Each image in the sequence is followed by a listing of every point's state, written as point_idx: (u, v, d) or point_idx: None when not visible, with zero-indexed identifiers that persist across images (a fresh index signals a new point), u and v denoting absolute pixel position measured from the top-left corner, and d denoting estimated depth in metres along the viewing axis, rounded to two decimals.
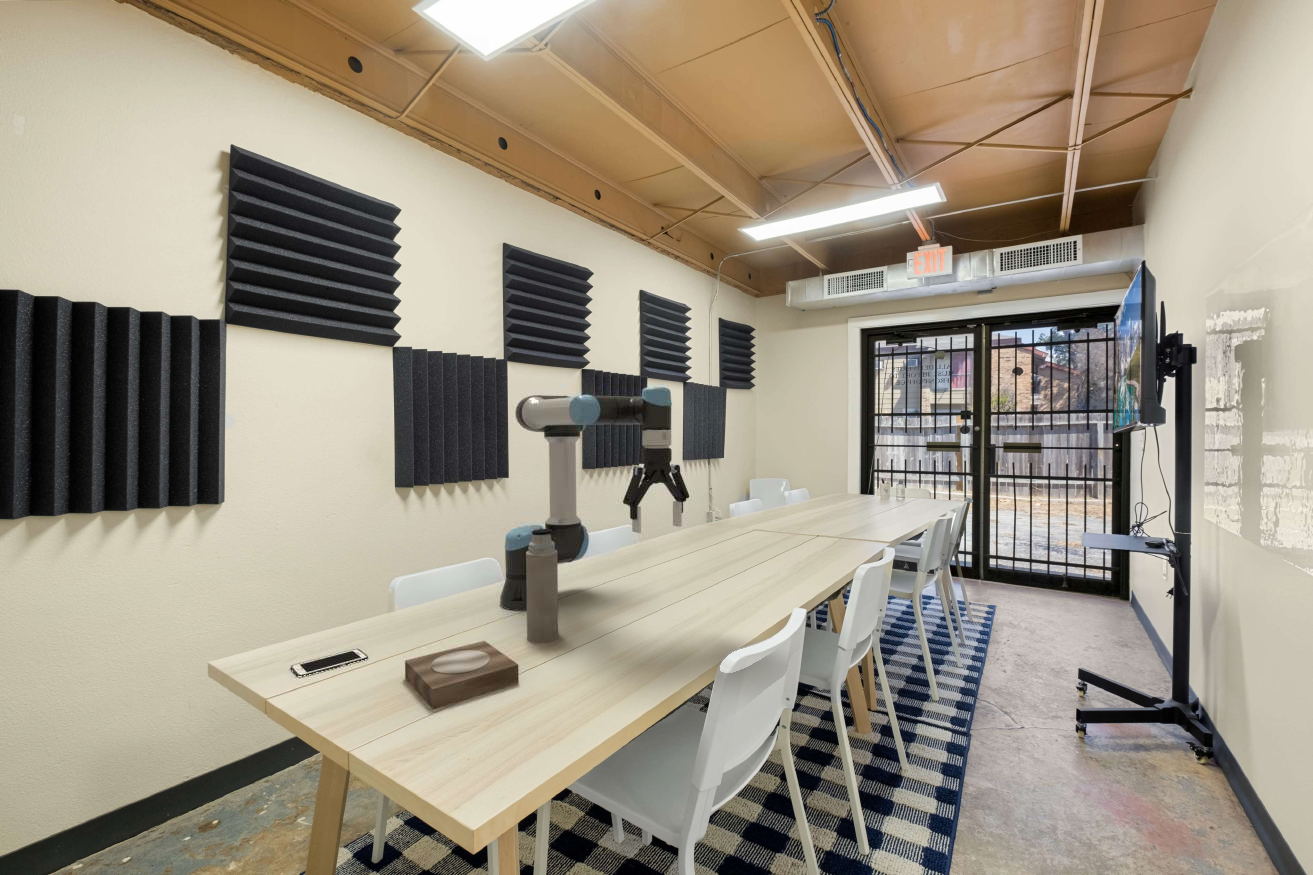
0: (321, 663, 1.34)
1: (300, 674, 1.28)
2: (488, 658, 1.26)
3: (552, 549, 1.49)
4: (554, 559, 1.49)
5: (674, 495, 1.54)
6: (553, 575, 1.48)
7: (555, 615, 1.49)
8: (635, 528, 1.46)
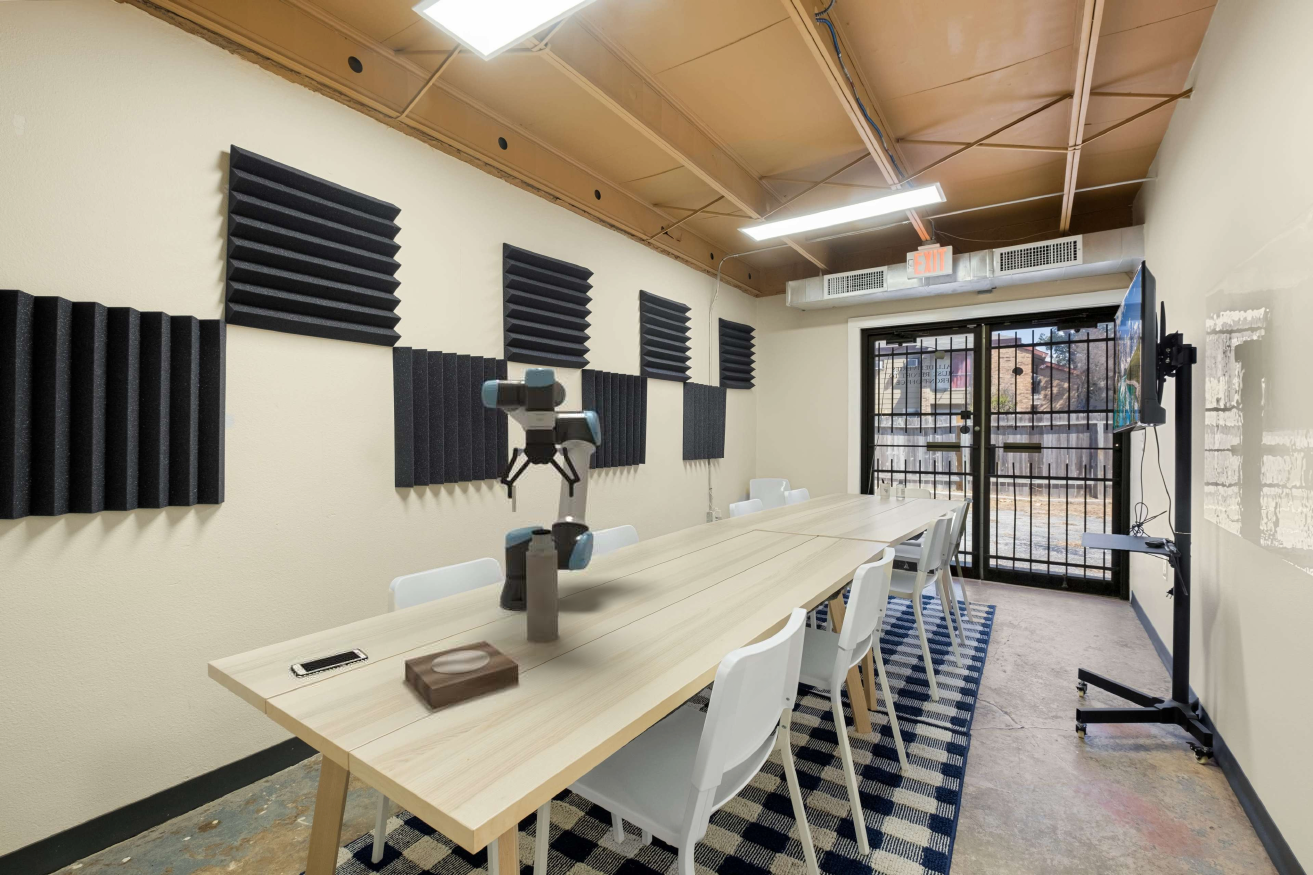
0: (321, 663, 1.34)
1: (300, 674, 1.28)
2: (488, 658, 1.26)
3: (552, 549, 1.49)
4: (554, 559, 1.49)
5: None
6: (553, 575, 1.48)
7: (555, 615, 1.49)
8: None
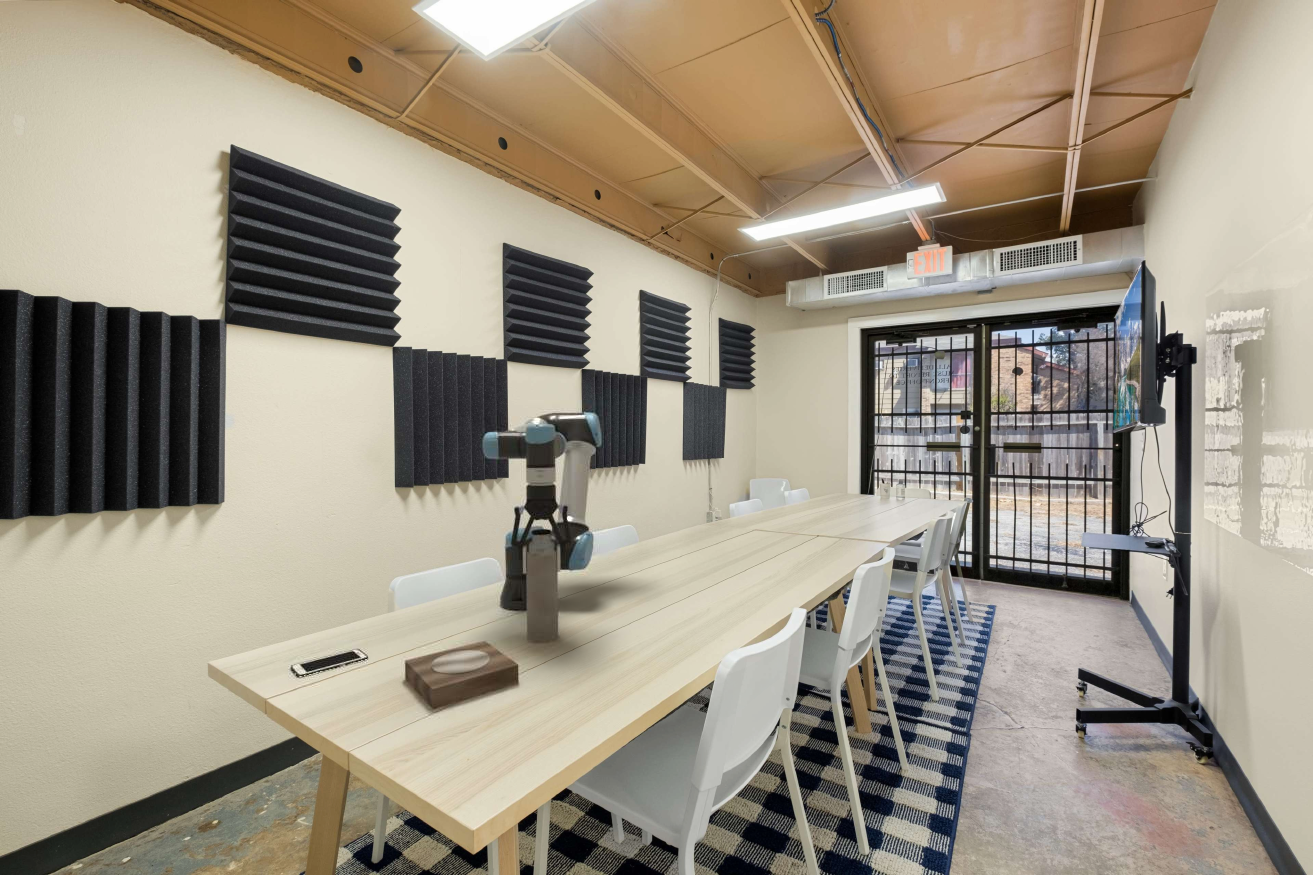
0: (321, 663, 1.34)
1: (300, 674, 1.28)
2: (488, 658, 1.26)
3: (552, 549, 1.49)
4: (554, 559, 1.49)
5: None
6: (553, 575, 1.48)
7: (555, 615, 1.49)
8: None
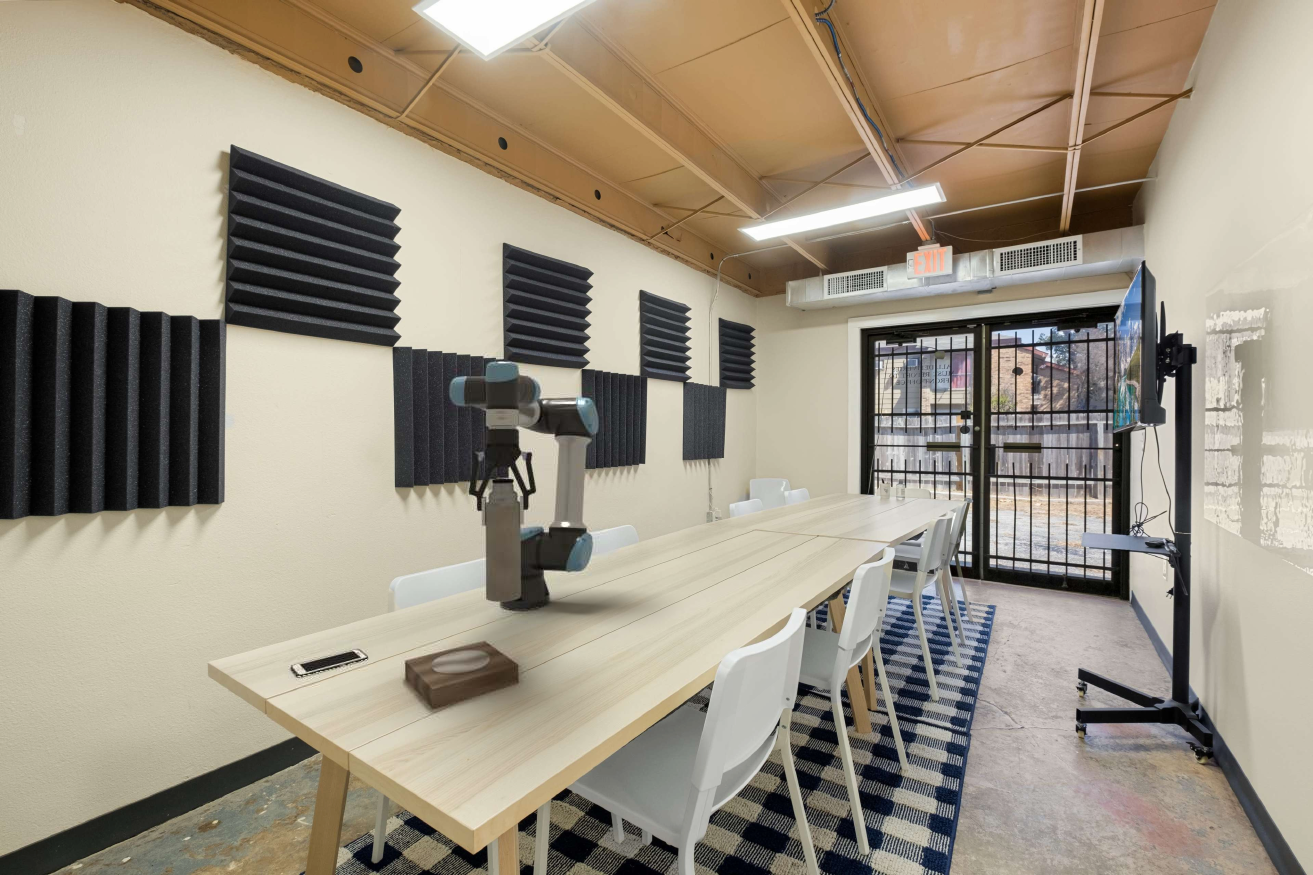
0: (321, 663, 1.34)
1: (300, 674, 1.28)
2: (488, 658, 1.26)
3: (514, 499, 1.36)
4: (516, 510, 1.35)
5: None
6: (515, 527, 1.35)
7: (517, 572, 1.35)
8: None
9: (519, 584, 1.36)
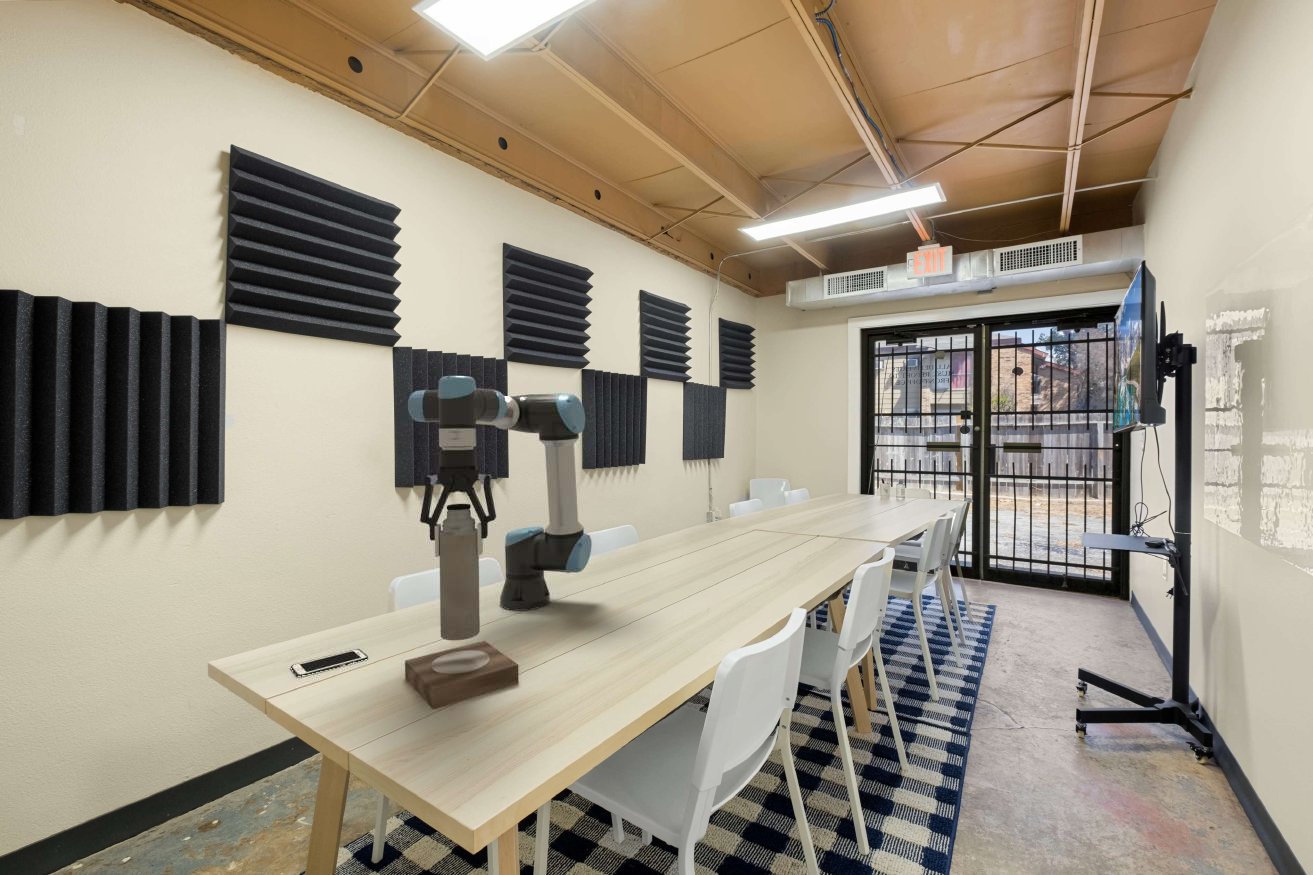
0: (321, 663, 1.34)
1: (300, 674, 1.28)
2: (488, 658, 1.26)
3: (471, 527, 1.23)
4: (473, 539, 1.23)
5: None
6: (471, 558, 1.22)
7: (474, 607, 1.23)
8: None
9: (477, 620, 1.24)
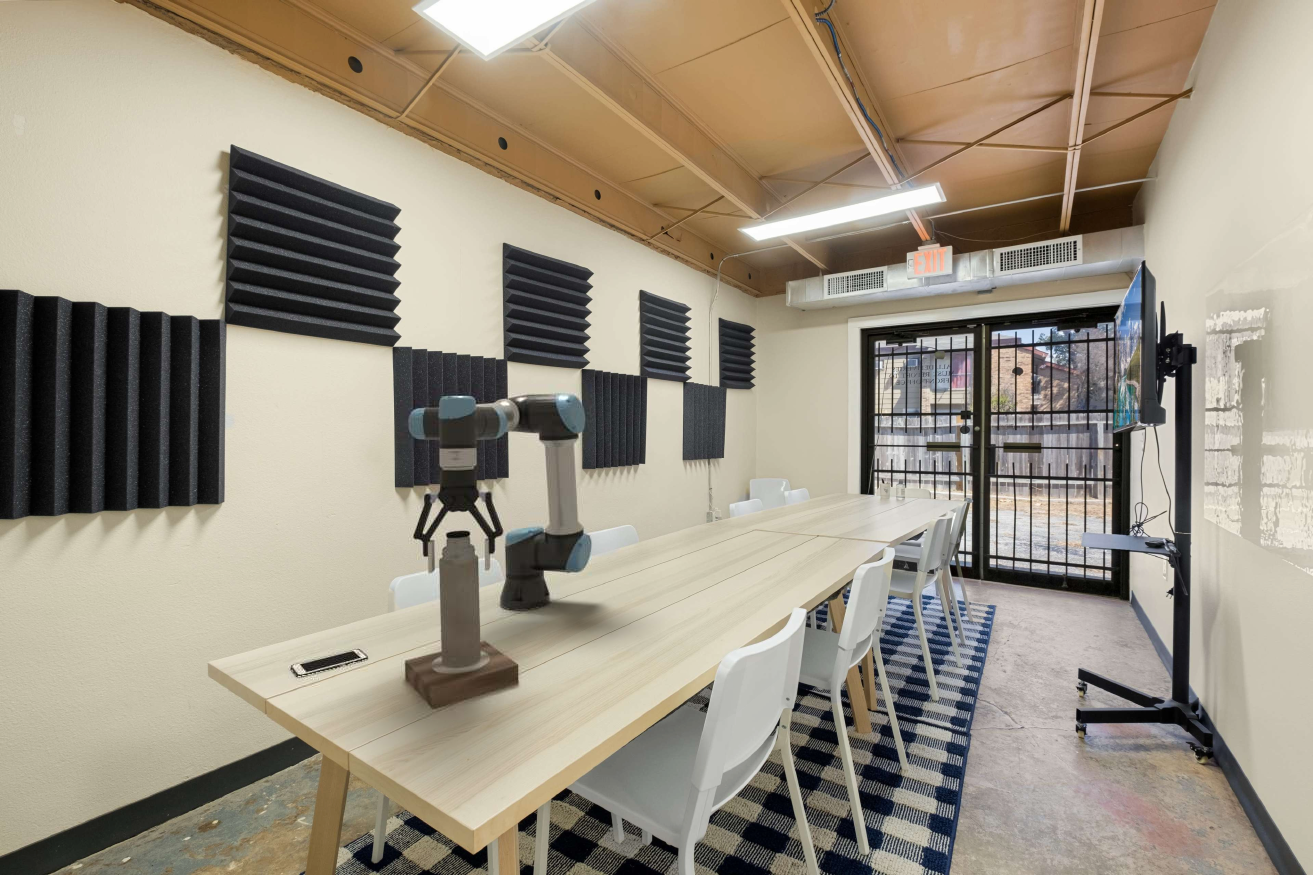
0: (321, 663, 1.34)
1: (300, 674, 1.28)
2: (488, 658, 1.26)
3: (470, 555, 1.23)
4: (473, 567, 1.23)
5: None
6: (471, 586, 1.22)
7: (475, 634, 1.23)
8: None
9: (478, 647, 1.24)
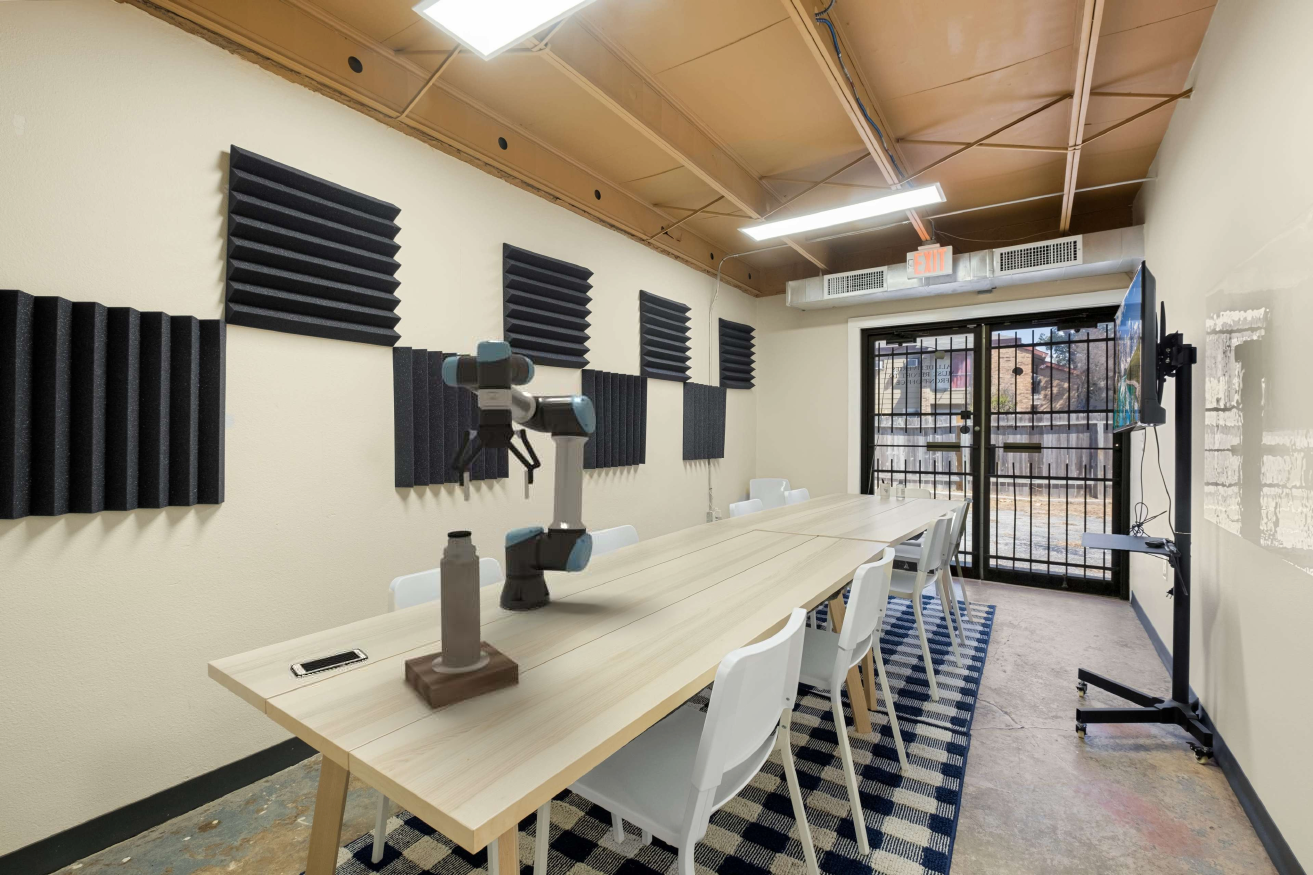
0: (321, 663, 1.34)
1: (299, 674, 1.28)
2: (488, 658, 1.26)
3: (471, 555, 1.23)
4: (474, 567, 1.23)
5: None
6: (472, 586, 1.23)
7: (475, 635, 1.23)
8: None
9: (478, 647, 1.24)
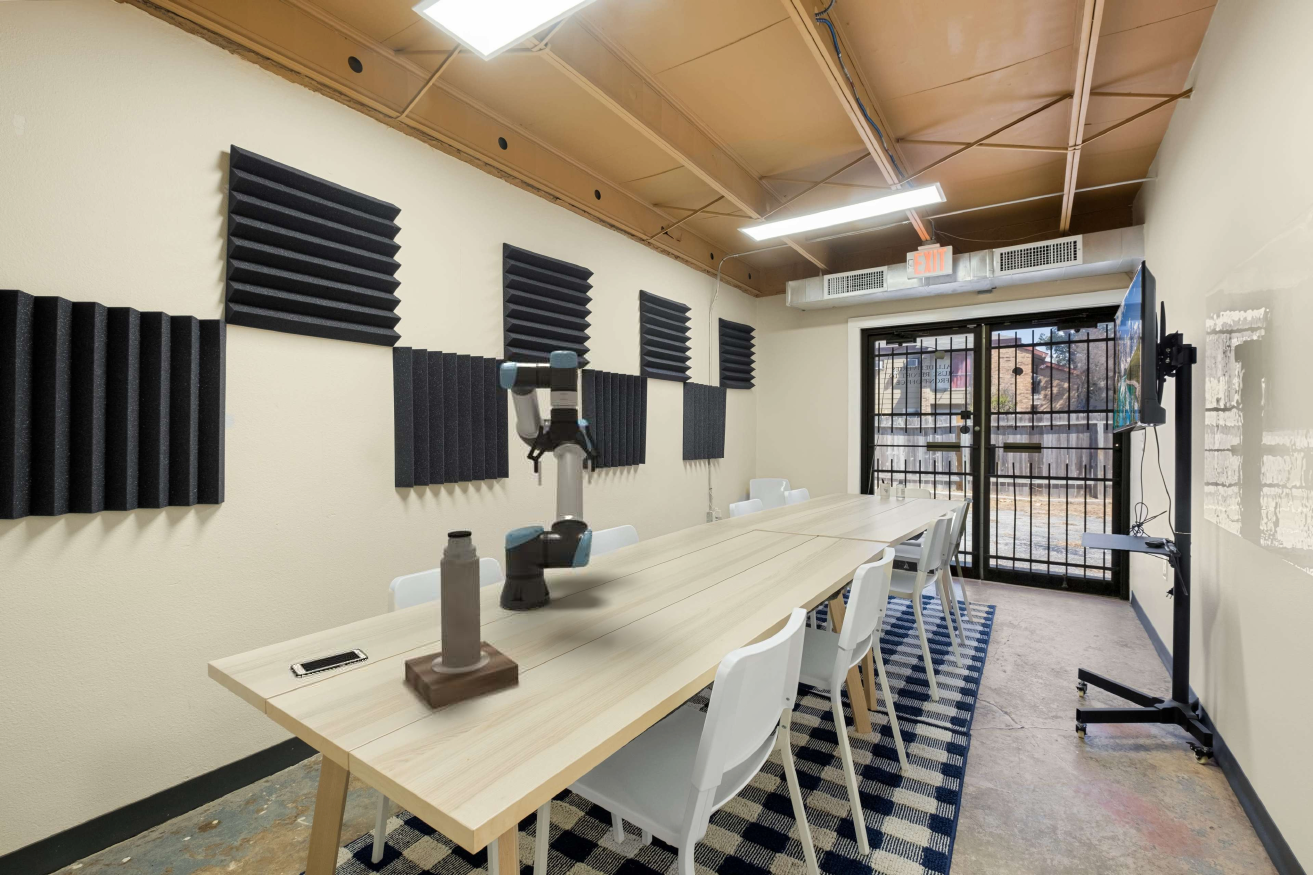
0: (321, 663, 1.34)
1: (299, 674, 1.28)
2: (488, 658, 1.26)
3: (472, 555, 1.23)
4: (474, 567, 1.23)
5: None
6: (472, 586, 1.23)
7: (475, 635, 1.23)
8: None
9: (478, 647, 1.24)
